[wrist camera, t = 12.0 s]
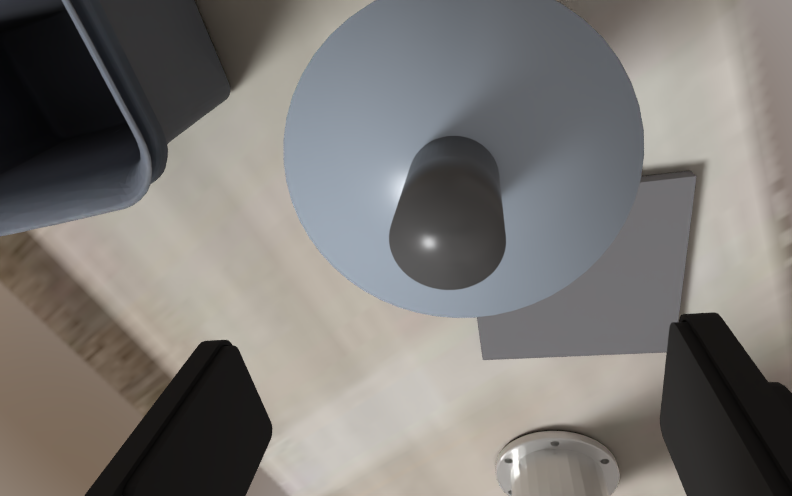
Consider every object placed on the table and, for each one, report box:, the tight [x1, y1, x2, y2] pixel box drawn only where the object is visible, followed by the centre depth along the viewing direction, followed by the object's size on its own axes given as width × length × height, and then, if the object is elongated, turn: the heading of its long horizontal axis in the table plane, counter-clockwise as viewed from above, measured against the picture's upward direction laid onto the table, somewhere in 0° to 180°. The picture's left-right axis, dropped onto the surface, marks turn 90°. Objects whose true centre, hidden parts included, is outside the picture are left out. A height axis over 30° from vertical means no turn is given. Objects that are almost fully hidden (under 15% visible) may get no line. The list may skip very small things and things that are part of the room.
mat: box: [477, 171, 696, 360], centre depth 38 cm, size 16×16×1 cm
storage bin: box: [0, 0, 230, 236], centre depth 28 cm, size 21×16×14 cm
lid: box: [284, 0, 644, 318], centre depth 17 cm, size 14×14×6 cm
